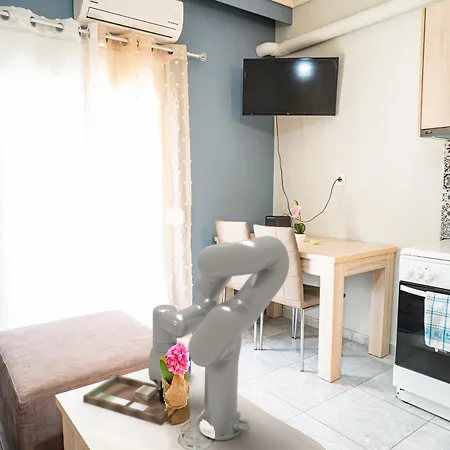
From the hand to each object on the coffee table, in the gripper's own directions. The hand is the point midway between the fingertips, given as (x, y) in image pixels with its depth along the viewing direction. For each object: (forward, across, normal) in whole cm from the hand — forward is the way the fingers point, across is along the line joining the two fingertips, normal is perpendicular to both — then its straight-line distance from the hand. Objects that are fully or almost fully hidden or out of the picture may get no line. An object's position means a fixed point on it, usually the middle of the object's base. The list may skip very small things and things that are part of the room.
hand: (164, 400), depth 129 cm
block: (+1, +7, 0) cm, 7 cm away
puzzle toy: (+2, +5, -14) cm, 16 cm away
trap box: (+2, +9, +3) cm, 9 cm away
